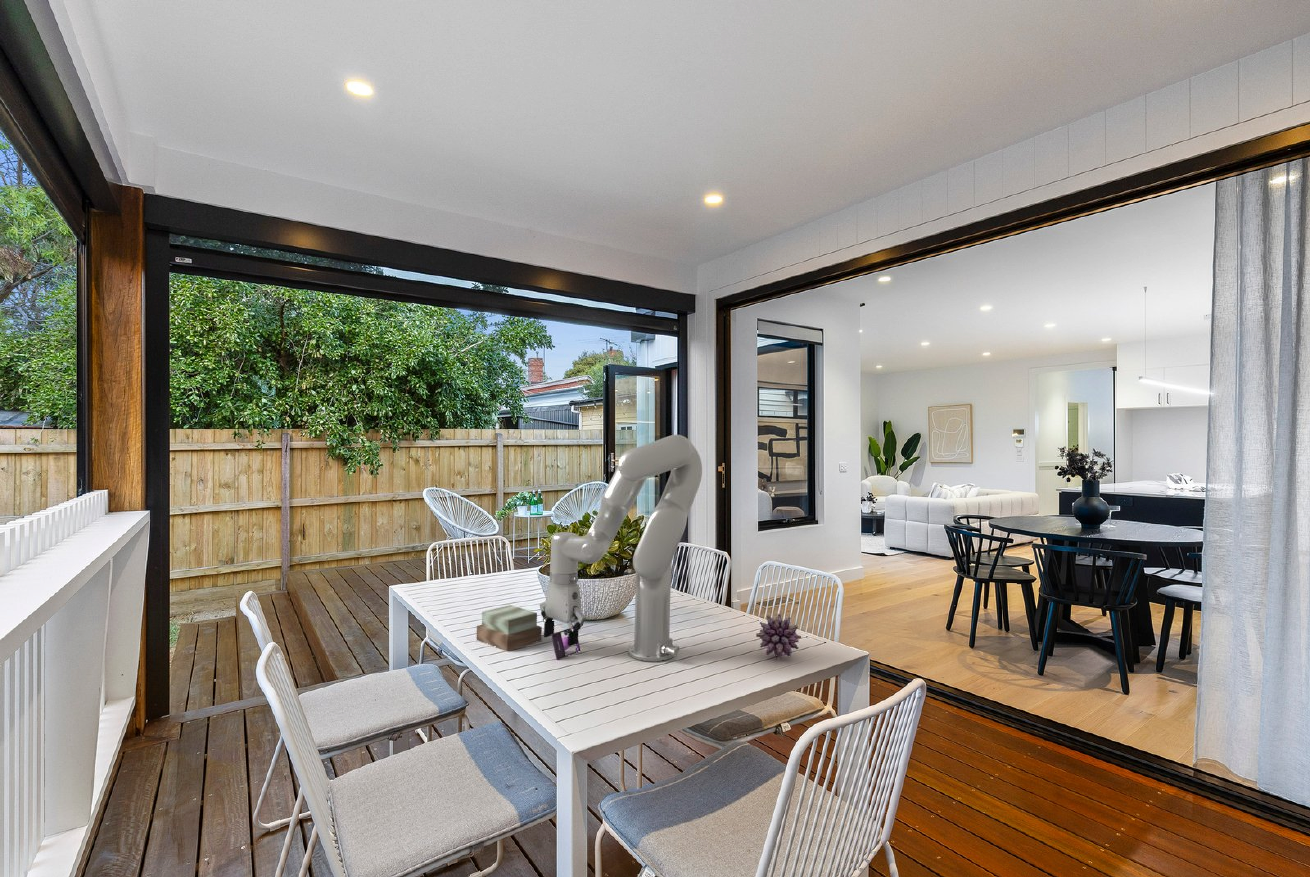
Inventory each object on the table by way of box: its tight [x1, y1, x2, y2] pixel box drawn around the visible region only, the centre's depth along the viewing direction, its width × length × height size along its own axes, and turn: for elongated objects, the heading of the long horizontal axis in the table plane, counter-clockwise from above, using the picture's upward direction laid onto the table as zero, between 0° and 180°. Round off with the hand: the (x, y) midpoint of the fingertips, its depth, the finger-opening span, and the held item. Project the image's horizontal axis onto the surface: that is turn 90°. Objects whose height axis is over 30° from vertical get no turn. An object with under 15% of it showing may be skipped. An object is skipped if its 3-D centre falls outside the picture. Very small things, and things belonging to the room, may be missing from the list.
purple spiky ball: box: [755, 613, 802, 660], centre depth 171 cm, size 12×12×12 cm
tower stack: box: [476, 604, 543, 652], centre depth 180 cm, size 14×12×8 cm
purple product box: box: [550, 627, 581, 661], centre depth 171 cm, size 7×5×9 cm
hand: (560, 640), depth 173 cm, fingers open, 9 cm apart
